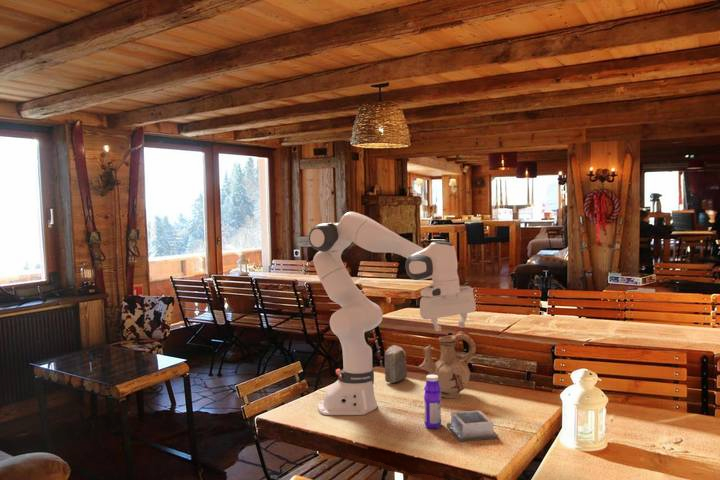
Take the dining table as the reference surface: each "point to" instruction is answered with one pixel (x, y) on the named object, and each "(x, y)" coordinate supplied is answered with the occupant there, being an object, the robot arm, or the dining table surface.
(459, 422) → the bottle holder
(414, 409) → the dining table surface
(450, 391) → the ceramic vessel
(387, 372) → the geological specimen
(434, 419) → the bottle
